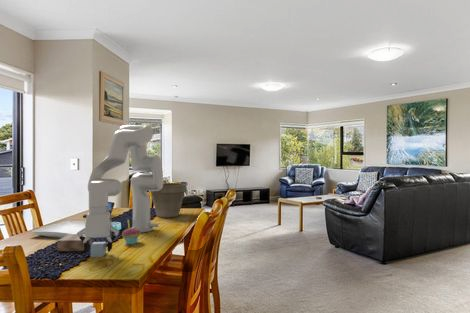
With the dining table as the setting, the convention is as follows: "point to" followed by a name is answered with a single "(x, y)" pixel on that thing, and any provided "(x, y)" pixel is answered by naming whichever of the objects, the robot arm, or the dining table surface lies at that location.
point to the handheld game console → (110, 204)
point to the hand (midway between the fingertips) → (98, 251)
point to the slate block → (98, 249)
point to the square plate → (61, 229)
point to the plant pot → (168, 199)
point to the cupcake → (131, 234)
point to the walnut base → (71, 243)
